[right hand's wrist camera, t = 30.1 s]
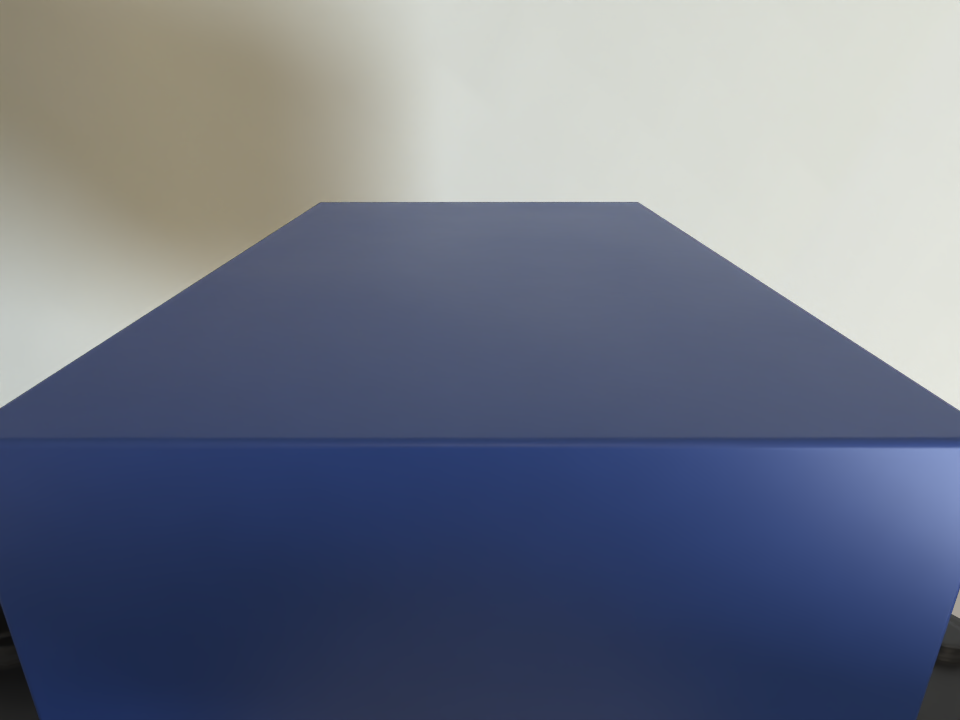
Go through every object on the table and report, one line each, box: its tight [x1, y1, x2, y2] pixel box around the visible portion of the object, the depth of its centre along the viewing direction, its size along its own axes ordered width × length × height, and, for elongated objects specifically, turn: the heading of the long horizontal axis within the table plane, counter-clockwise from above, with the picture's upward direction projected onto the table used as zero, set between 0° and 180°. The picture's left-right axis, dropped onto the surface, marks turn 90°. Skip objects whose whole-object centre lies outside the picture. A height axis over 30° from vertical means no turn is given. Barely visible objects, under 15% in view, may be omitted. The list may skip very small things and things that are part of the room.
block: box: [0, 202, 960, 720], centre depth 12 cm, size 9×8×12 cm
